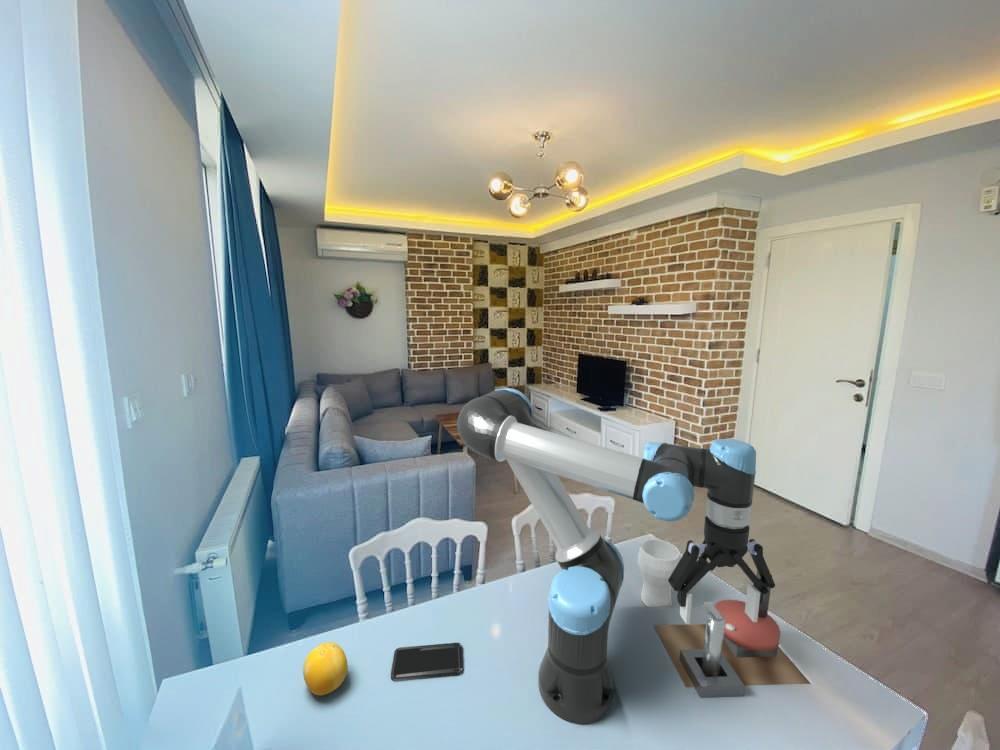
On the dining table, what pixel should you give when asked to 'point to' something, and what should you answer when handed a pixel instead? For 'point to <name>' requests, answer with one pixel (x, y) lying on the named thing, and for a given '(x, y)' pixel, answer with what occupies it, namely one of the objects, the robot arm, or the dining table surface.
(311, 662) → the fruit
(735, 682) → the eye
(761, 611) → the handwheel
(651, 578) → the cup
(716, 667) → the hook peg
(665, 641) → the board
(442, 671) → the phone
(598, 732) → the dining table surface
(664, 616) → the dining table surface
